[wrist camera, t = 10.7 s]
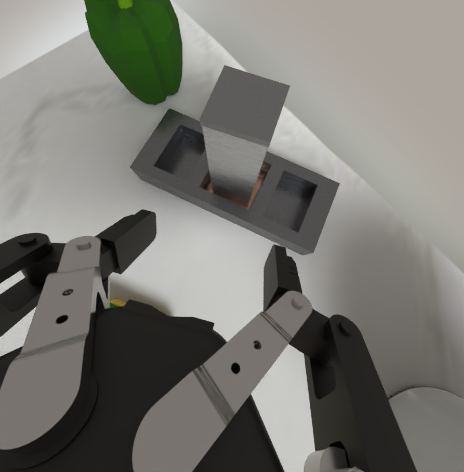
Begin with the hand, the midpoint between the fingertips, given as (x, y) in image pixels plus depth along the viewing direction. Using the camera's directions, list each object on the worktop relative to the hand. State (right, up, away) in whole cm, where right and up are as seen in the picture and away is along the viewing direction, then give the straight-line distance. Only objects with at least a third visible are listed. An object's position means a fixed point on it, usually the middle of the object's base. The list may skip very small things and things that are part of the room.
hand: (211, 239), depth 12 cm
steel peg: (+2, +6, +8) cm, 10 cm away
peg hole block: (+2, +6, +9) cm, 11 cm away
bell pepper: (-8, +19, +11) cm, 24 cm away
